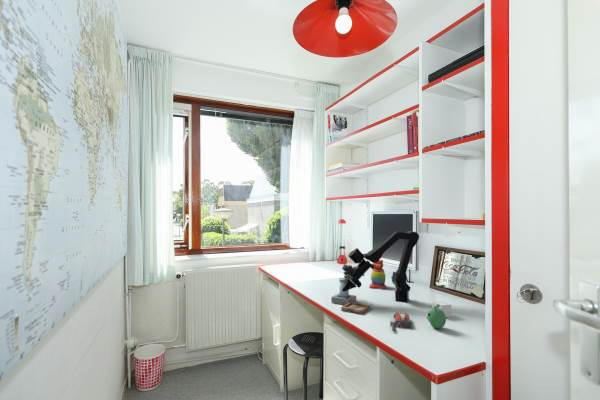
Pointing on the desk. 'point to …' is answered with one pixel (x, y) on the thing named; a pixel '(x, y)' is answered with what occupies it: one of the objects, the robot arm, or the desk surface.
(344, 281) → the ball
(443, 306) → the pale pink cube
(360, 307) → the tray
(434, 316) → the alien toy
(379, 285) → the stacking bear
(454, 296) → the desk surface
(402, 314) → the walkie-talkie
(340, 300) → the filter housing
